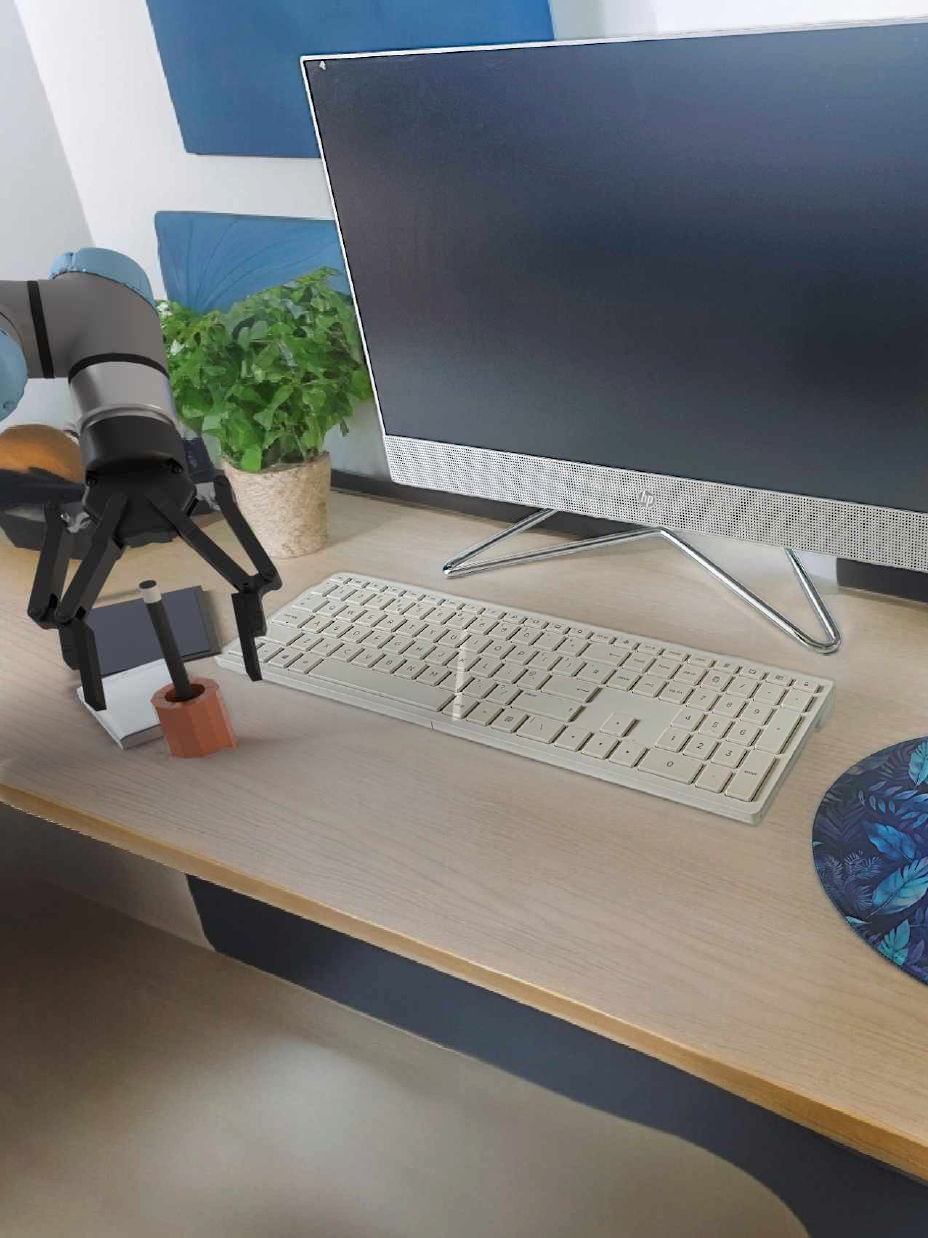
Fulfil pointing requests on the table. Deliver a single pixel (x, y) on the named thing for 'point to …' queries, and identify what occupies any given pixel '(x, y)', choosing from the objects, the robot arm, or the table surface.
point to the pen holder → (194, 720)
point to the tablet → (151, 631)
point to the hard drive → (132, 703)
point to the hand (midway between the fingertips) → (176, 690)
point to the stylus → (166, 640)
